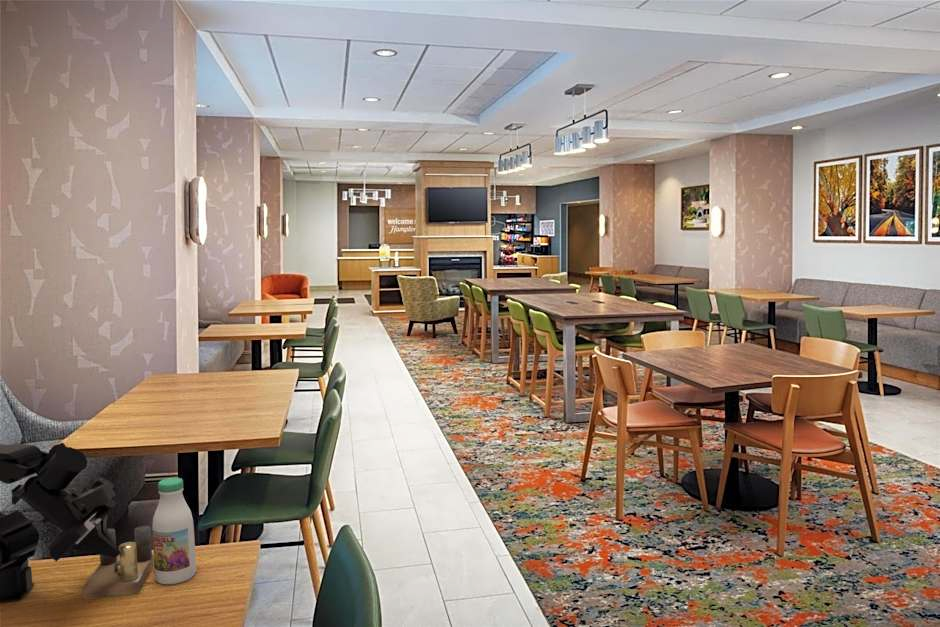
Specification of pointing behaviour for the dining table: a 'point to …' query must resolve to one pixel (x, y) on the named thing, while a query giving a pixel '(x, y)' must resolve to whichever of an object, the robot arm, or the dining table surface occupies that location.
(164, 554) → the milk bottle
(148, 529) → the square plate with pegs
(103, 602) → the dining table surface
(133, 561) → the gold cylinder with bar
